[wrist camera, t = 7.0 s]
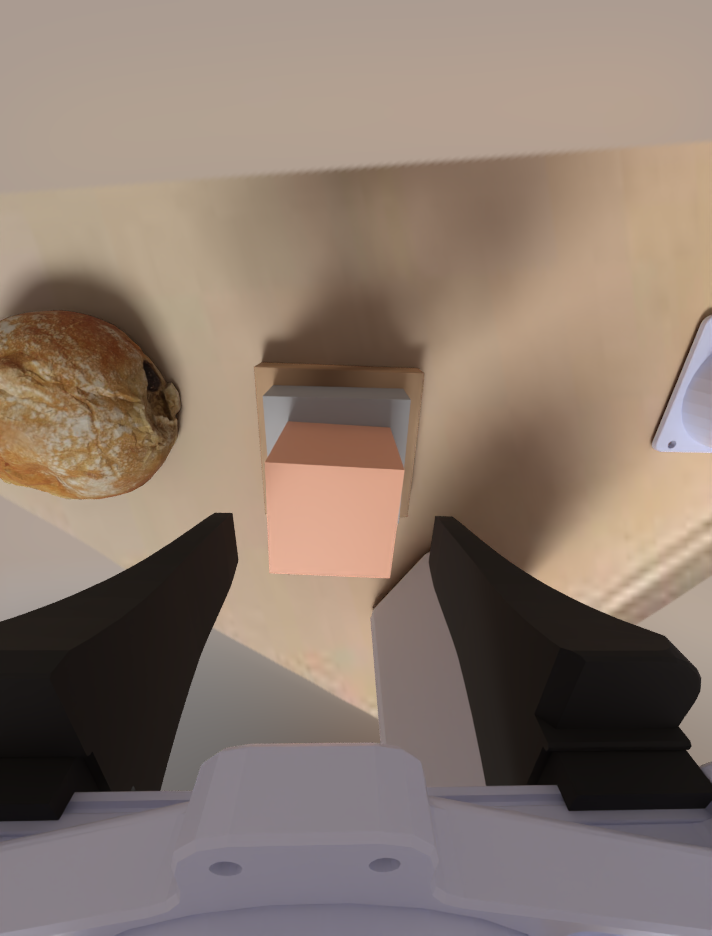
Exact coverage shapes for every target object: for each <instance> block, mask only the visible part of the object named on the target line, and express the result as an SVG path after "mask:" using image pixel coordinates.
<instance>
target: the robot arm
mask: <svg viewBox="0 0 712 936" xmlns="http://www.w3.org/2000/svg"><path fill="white" fill-rule="evenodd" d="M670 442H671V443H670ZM669 443H670V444H669ZM668 444H669V445H668ZM652 448H653V449H655V450H657V451H660V452H699V453H712V315H709V316H708V317H706V318H705V319H704V320H703V321H702V323H701V325H700V327H699V329H698V332H697V334H696V337H695V339H694V342H693V344H692V347H691V349H690V352H689V354H688V356H687V359H686V361H685V364H684V366H683V369H682V371H681V374H680V376H679V378H678V381H677V383H676V386H675V388H674V391H673V393H672V396H671V398H670V400H669V403H668V405H667V408H666V410H665V413H664V415H663V418H662V420H661V423H660V425H659V427H658V430H657V432H656V435H655V437H654V440H653V442H652ZM237 563H238V553H237V545H236V537H235V530H234V522H233V514H232V513H214V514H212V515H210V516H209V517H207V518H206V519H204V520H203V521H202V522H200V523H199V524H197V525H196V526H194V527H193V528H192V529H190V530H189V531H187V532H186V533H184V534H183V535H181V536H180V537H179V538H177V539H176V540H174V541H173V542H171V543H170V544H168V545H167V546H165V547H163V548H162V549H160V550H159V551H157V552H155V553H154V554H152V555H151V556H149V557H148V558H146V559H144V560H143V561H141V562H139V563H137V564H136V565H134V566H132V567H130V568H129V569H127V570H125V571H123V572H121V573H119V574H117V575H115V576H113V577H111V578H109V579H107V580H105V581H103V582H101V583H99V584H96V585H94V586H92V587H90V588H88V589H86V590H83V591H81V592H79V593H76V594H74V595H72V596H70V597H67V598H65V599H62V600H60V601H57V602H55V603H52V604H50V605H47V606H44V607H42V608H39V609H36V610H33V611H31V612H28V613H26V614H22V615H19V616H17V617H14V618H11V619H7V620H4V621H1V622H0V936H712V762H708V763H706V764H704V765H701V766H700V767H699V766H698V765H697V764H696V762H695V761H694V760H693V759H692V757H691V756H690V755H689V753H688V752H687V751H686V750H689V749H690V748H691V742H690V740H689V739H688V738H687V736H686V735H685V734H684V733H683V732H682V730H681V729H680V728H679V725H680V723H681V721H682V720H683V719H684V717H685V716H686V714H687V713H688V711H689V710H690V708H691V707H692V705H693V704H694V703H695V701H696V699H697V697H698V694H699V693H700V688H701V677H700V674H699V672H698V670H697V669H696V667H695V666H694V665H692V663H690V661H689V660H688V659H687V658H686V657H685V656H684V655H683V654H682V653H681V652H680V651H679V650H678V649H677V648H676V647H675V646H674V645H673V644H672V643H671V642H670V641H669V640H668V639H667V638H666V637H665V636H663V635H661V634H658V633H655V632H652V631H650V630H647V629H644V628H641V627H639V626H636V625H633V624H630V623H628V622H625V621H622V620H620V619H617V618H615V617H612V616H610V615H608V614H605V613H603V612H601V611H598V610H596V609H594V608H591V607H589V606H587V605H585V604H583V603H581V602H578V601H576V600H574V599H572V598H570V597H568V596H566V595H565V594H563V593H561V592H559V591H557V590H555V589H553V588H551V587H549V586H548V585H546V584H544V583H542V582H541V581H539V580H537V579H536V578H534V577H532V576H531V575H529V574H527V573H526V572H524V571H523V570H521V569H520V568H518V567H517V566H515V565H514V564H512V563H511V562H509V561H508V560H507V559H505V558H504V557H502V556H501V555H500V554H498V553H497V552H496V551H494V550H493V549H492V548H490V547H489V546H488V545H487V544H485V543H484V542H483V541H482V540H480V539H479V538H478V537H477V536H476V535H474V534H473V533H472V532H471V531H470V530H468V529H467V528H466V527H465V526H464V525H462V524H461V523H460V522H459V521H457V520H456V519H455V518H453V517H446V516H435V522H434V529H433V535H432V542H431V548H430V555H429V567H430V573H431V577H432V582H433V586H434V590H435V593H436V595H437V598H438V601H439V604H440V607H441V610H442V612H443V615H444V618H445V621H446V624H447V626H448V629H449V632H450V635H451V637H452V640H453V643H454V646H455V649H456V653H457V656H458V659H459V663H460V667H461V671H462V676H463V680H464V684H465V688H466V692H467V697H468V701H469V705H470V710H471V714H472V718H473V723H474V728H475V733H476V738H477V742H478V747H479V752H480V757H481V762H482V767H483V773H484V778H485V784H486V786H458V787H427V786H426V780H425V775H424V771H423V768H422V764H421V761H420V760H418V759H417V758H416V757H415V756H413V755H412V754H410V753H408V752H407V751H405V750H404V749H402V748H400V747H399V746H393V745H387V744H380V743H294V744H293V743H284V744H246V745H240V746H235V747H229V748H225V749H223V750H221V751H220V752H218V753H217V754H216V755H214V756H213V757H211V758H209V759H208V760H206V761H205V762H204V763H202V764H201V767H200V770H199V773H198V776H197V779H196V782H195V786H194V789H193V791H160V790H161V786H162V782H163V778H164V774H165V771H166V767H167V763H168V760H169V756H170V753H171V749H172V745H173V742H174V738H175V735H176V731H177V728H178V724H179V721H180V718H181V714H182V711H183V708H184V705H185V701H186V698H187V695H188V692H189V688H190V685H191V682H192V679H193V676H194V673H195V670H196V667H197V664H198V661H199V658H200V656H201V653H202V651H203V648H204V646H205V643H206V641H207V639H208V636H209V634H210V632H211V630H212V628H213V625H214V623H215V621H216V619H217V616H218V614H219V612H220V610H221V608H222V605H223V603H224V601H225V598H226V596H227V594H228V592H229V589H230V587H231V584H232V581H233V578H234V574H235V571H236V567H237Z"/></svg>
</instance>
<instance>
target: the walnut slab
mask: <svg viewBox="0 0 712 936" xmlns="http://www.w3.org/2000/svg"><path fill="white" fill-rule="evenodd" d="M254 374H255V387H256V399H257V412H258V425H259V438H260V451H261V464H262V477H263V490H264V503H265V514H267V504H266V481H265V461H266V459H267V445H266V432H265V420H264V408H263V395H264V394H265V393H266V392H267V391H268V390H269V389H270V388H271V387H272V386H273V385H284V386H322V387H360V388H399V389H404V391H405V392H406V394H407V395H408V396H409V398H410V399H411V403H410V413H409V423H408V434H407V444H406V454H405V464H404V470H405V471H404V479H403V486H402V495H401V505H400V516H399V517H407V516H408V508H409V500H410V491H411V483H412V474H413V466H414V457H415V449H416V441H417V432H418V424H419V415H420V407H421V398H422V390H423V382H424V373H423V372H422V371H421V370H420V369H418V368H400V367H373V366H347V365H321V364H295V363H268V362H261V363H260V364H258V365H257V366H255V367H254Z"/></svg>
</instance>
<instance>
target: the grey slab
mask: <svg viewBox="0 0 712 936" xmlns="http://www.w3.org/2000/svg"><path fill="white" fill-rule="evenodd" d="M410 403H411V399H410V398H409V396H408V395H407V394H406V392H405V391H404V389H399V388H360V387H322V386H284V385H273V386H272V387H271V388H270V389H269V390H268V391H267V392H266V393H265V394H264V395H263V408H264V420H265V432H266V445H267V457H268V456H269V454H270V452H271V450H272V448H273V447H274V445H275V443H276V441H277V440H278V438H279V436H280V434H281V432H282V431H283V429H284V427H285V425H286V424H287V422H288V421H292V422H308V423H325V424H341V425H358V426H375V427H390V428H391V431H392V434H393V437H394V440H395V443H396V446H397V449H398V452H399V455H400V458H401V461H402V464H403V467H404V464H405V454H406V444H407V434H408V423H409V413H410ZM401 495H402V493H401ZM400 505H401V501H400ZM399 516H400V508H399V515H398V522H397V523H398V524H399Z"/></svg>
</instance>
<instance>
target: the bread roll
mask: <svg viewBox="0 0 712 936" xmlns="http://www.w3.org/2000/svg"><path fill="white" fill-rule="evenodd" d="M180 409H181V401H180V397H179V393H178V391H177V390H176V388H175V387H174V385H173V384H172V382H171V383H167V382H166V381H165V380H164V378H163V376H162V374H161V373H160V372H159V370H158V369H157V368H156V366H155V365H154V364H153V362H152V361H151V360H150V359H149V357H147V356H146V355H145V354H144V353H143V352H142V350H141V348H140V347H139V346H138V345H137V344H136V343H135V342H133V341H132V340H131V339H130V338H129V337H128V336H127V335H126V333H124V332H123V331H121V330H120V329H118V328H117V327H116V326H114V325H112V324H110V323H108V322H105V321H103V320H101V319H98V318H95V317H92V316H89V315H86V314H82V313H77V312H71V311H63V310H53V311H38V312H28V313H22V314H18V315H15V316H12V317H8V318H6V319H3V320H1V321H0V478H1V479H2V480H3V481H4V482H6V483H8V484H11V483H13V484H15V485H17V486H25V487H30V488H34V489H38V490H41V491H44V492H49V493H50V494H52V495H55V496H58V497H62V498H66V499H80V500H81V499H102V498H107V497H113V496H117V495H121V494H124V493H128V492H131V491H133V490H135V489H137V488H139V487H141V486H142V485H144V484H145V483H146V482H147V481H148V480H150V479H151V477H152V476H153V475H154V474H155V473H156V472H157V470H158V469H159V468H160V467H161V466H162V464H163V463H164V461H165V460H166V458H167V456H168V454H169V452H170V450H171V449H172V447H173V445H174V444H175V441H176V439H177V436H178V427H177V419H176V417H175V415H176V413H178V412H179V410H180Z"/></svg>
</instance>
